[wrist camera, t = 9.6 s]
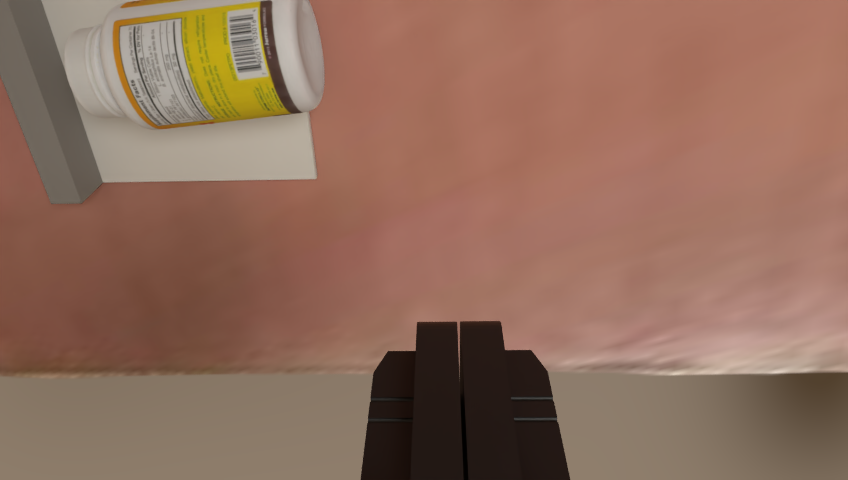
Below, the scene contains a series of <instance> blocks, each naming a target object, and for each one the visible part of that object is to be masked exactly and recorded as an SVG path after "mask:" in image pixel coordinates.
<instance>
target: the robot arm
mask: <svg viewBox="0 0 848 480" xmlns="http://www.w3.org/2000/svg"><path fill="white" fill-rule="evenodd" d="M361 480H570V477H569V472H568V468H567V462H566V458H565V453H564V448H563V443H562V438H561V434H560V429H559V424H558V422H557V414H556V410H555V406H554V402H553V395H552V391H551V386H550V381H549V376H548V372H547V370H546V369H545V368H544V366H543V365H542V364H541V362H540V361H539V360H538V358H537V357H536V356H535V355H534V353H533V352H532V351H531V350H505V348H504V340H503V333H502V326H501V322H500V321H463V322H460V381H459V357H458V333H457V322H417V334H416V351H388V352H387V353H386V355H385V356H384V358H383V359H382V361H381V362H380V364H379V365H378V367H377V368H376V370H375V371H374V374H373V383H372V390H371V402H370V407H369V415H368V424H367V431H366V440H365V448H364V457H363V465H362V474H361Z"/></svg>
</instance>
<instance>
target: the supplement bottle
mask: <svg viewBox="0 0 848 480" xmlns="http://www.w3.org/2000/svg"><path fill="white" fill-rule="evenodd" d="M64 65H65V70H66V75H67V79H68V82H69V85H70V87H71V89H72V91H73V93H74V95H75V97H76V99H77V100H78V101H79V103H80V104H81V105H82V107H83V108H84V109H85V110H86V111H88V112H89V113H90V114H92V115H94V116H96V117H100V118H111V117H121V118H124V117H129V118H130V119H131V120H132V121H133V122H135V123H136V124H138V125H140V126H141V127H144V128H147V129H151V130H159V129H170V128H178V127H187V126H195V125H205V124H214V123H221V122H229V121H238V120H247V119H255V118H263V117H271V116H281V115H290V114H297V113H303V112H309V111H311V110H313V109H314V108H316V107H317V106H318V105H319V103H320V101H321V99H322V96H323V91H324V74H325V73H324V59H323V51H322V45H321V39H320V34H319V30H318V26H317V22H316V19H315V15H314V12H313V9H312V7H311V4H310V2H309V0H139V1H132V2H126V3H122V4H119V5H117V6H115V7H114V8H113V9H111V10H110V12H109V13H108V14H107V16H106V17H105V20H104V22H103V24H100V25H96V26H94V27H88V28H82V29H78V30H75V31H74V32H72V33H71V34H70V36H69V37H68V39H67V42H66V45H65V50H64Z"/></svg>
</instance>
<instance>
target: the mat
mask: <svg viewBox="0 0 848 480" xmlns="http://www.w3.org/2000/svg"><path fill="white" fill-rule="evenodd" d="M132 1H139V0H0V76H1V79H2V81H3V84H4V86H5V89H6V91H7V94H8V96H9V99H10V101H11V104H12V106H13V109H14V111H15V114H16V116H17V119H18V121H19V124H20V126H21V129H22V131H23V134H24V136H25V139H26V141H27V144H28V147H29V149H30V152H31V154H32V157H33V159H34V162H35V164H36V167H37V169H38V172H39V174H40V177H41V179H42V182H43V184H44V187H45V189H46V192H47V194H48V197H49V199H50V202H51V204H73V203H83V202H84V201H85V200H86V199H87V198H88V197H89V196H90V195H91V194H92V193H93V192H94V191H95V190H96V189H97V188H98V187H99V186H100V185H101V184H102V183H103V182H163V181H227V180H291V179H316V178H317V169H316V161H315V153H314V146H313V138H312V130H311V123H310V115H309V112H303V113H297V114H290V115H281V116H271V117H263V118H255V119H247V120H238V121H229V122H221V123H214V124H205V125H195V126H187V127H178V128H170V129H159V130H151V129H147V128H144V127H141V126H140V125H138V124H136V123H135V122H133V121H132V120H131V119H130V118H129V117H124V118H121V117H111V118H100V117H96V116H94V115H92V114H90V113H89V112H88V111H86V110H85V109H84V108H83V107H82V105H81V104H80V103H79V101H78V100H77V99H76V97H75V95H74V93H73V91H72V89H71V87H70V85H69V82H68V79H67V75H66V70H65V65H64V50H65V45H66V42H67V39H68V37H69V36H70V34H71V33H72V32H74V31H75V30H78V29H82V28H88V27H94V26H96V25H100V24H103V22H104V20H105V17H106V16H107V14H108V13H109V12H110V10H111V9H113V8H114V7H115V6H117V5H119V4H122V3H126V2H132Z"/></svg>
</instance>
